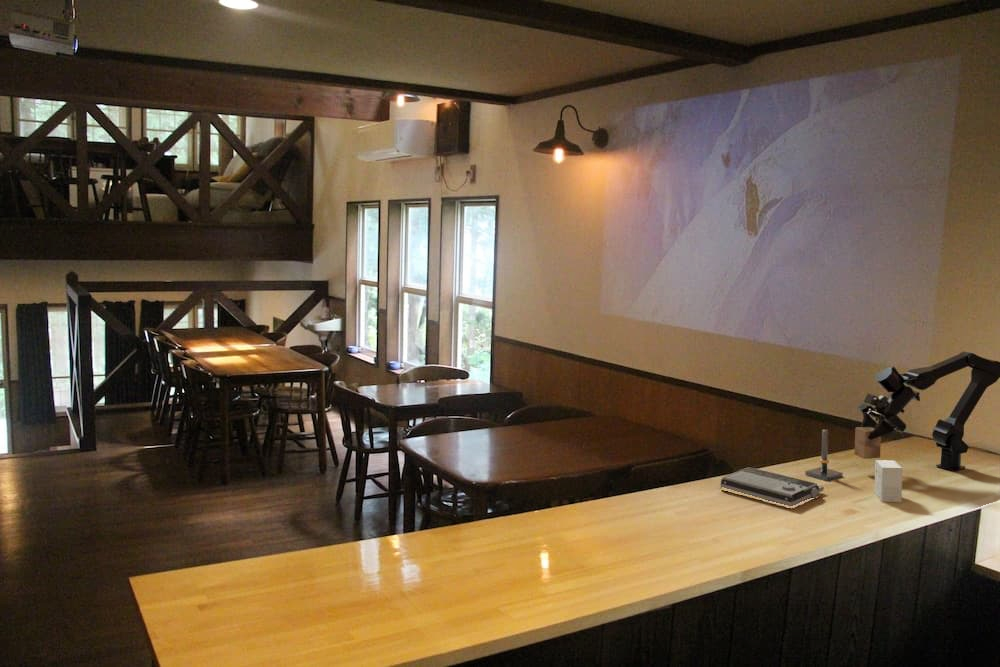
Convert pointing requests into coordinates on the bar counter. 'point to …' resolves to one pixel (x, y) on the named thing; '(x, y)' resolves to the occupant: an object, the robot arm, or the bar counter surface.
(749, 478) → the radio
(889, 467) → the small box
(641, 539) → the bar counter surface
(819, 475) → the height gauge
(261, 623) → the bar counter surface
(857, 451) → the walnut block
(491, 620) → the bar counter surface
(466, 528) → the bar counter surface
